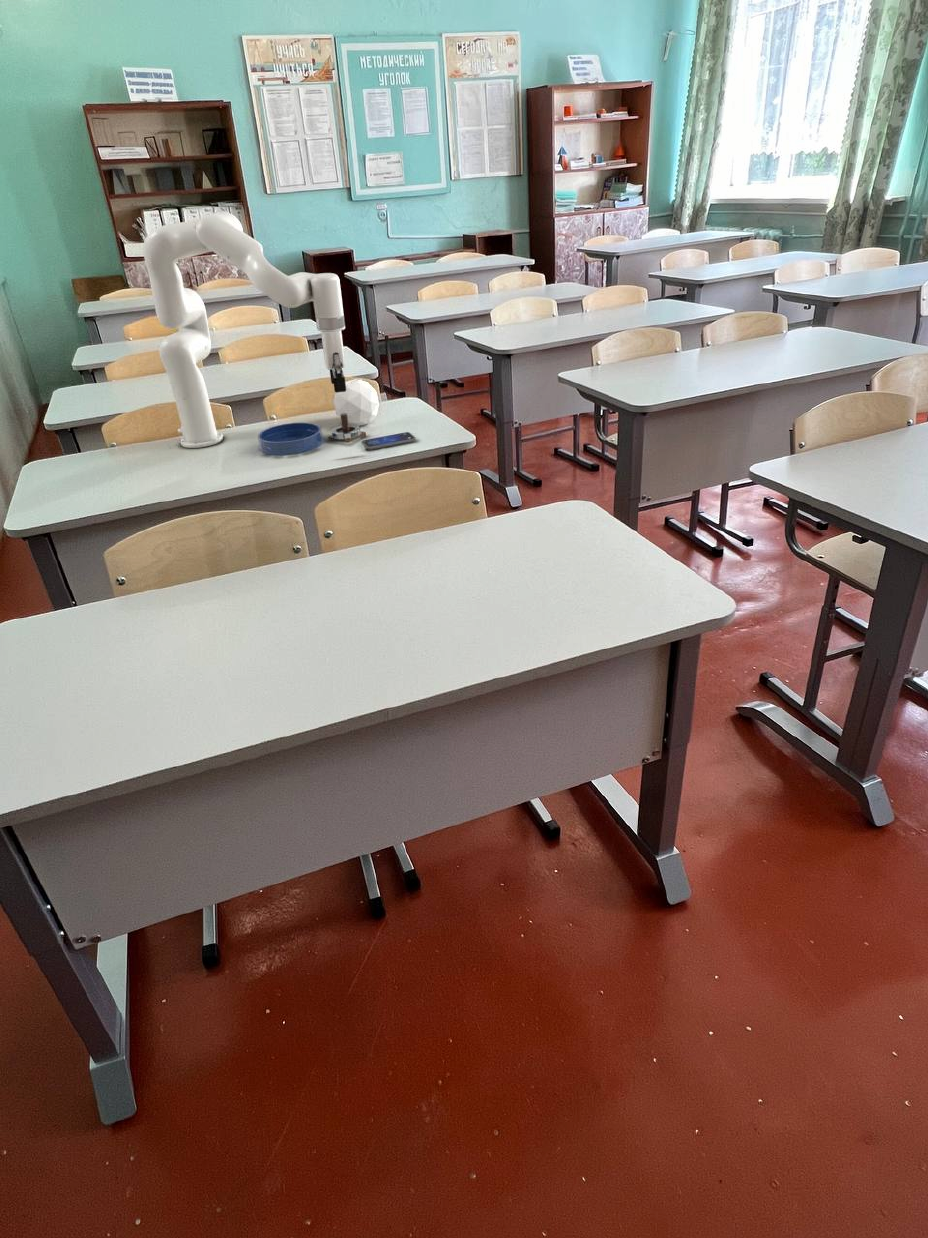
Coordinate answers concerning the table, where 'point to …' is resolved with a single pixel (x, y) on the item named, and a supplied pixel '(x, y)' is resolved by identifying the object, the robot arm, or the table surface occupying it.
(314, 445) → the bowl
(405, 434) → the smartphone
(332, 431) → the ring
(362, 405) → the geodesic sphere
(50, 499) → the table surface
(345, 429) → the peg board base
